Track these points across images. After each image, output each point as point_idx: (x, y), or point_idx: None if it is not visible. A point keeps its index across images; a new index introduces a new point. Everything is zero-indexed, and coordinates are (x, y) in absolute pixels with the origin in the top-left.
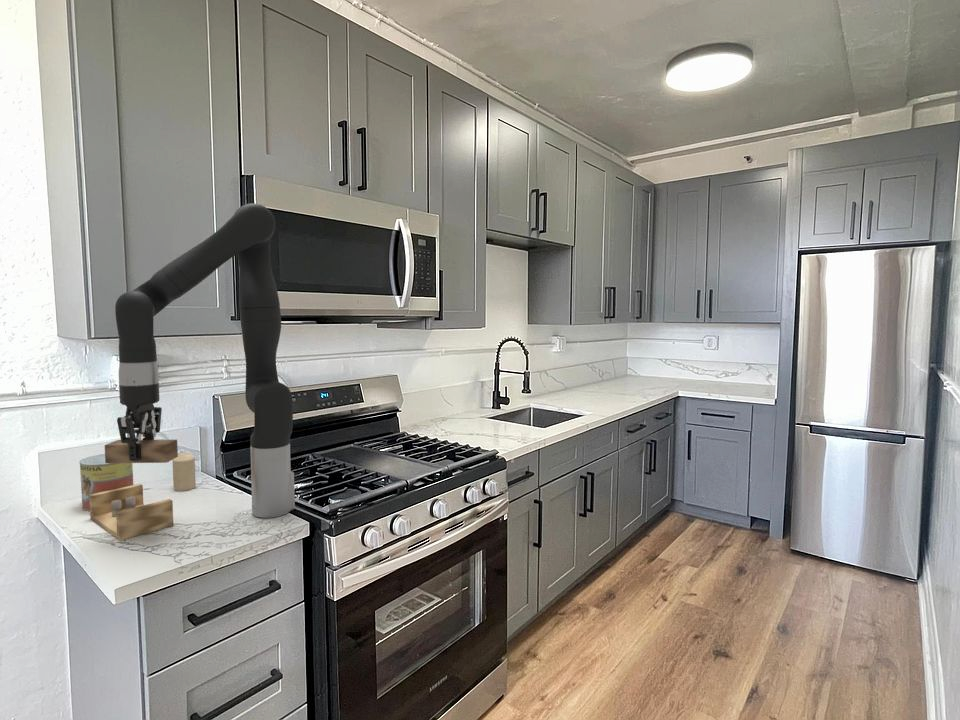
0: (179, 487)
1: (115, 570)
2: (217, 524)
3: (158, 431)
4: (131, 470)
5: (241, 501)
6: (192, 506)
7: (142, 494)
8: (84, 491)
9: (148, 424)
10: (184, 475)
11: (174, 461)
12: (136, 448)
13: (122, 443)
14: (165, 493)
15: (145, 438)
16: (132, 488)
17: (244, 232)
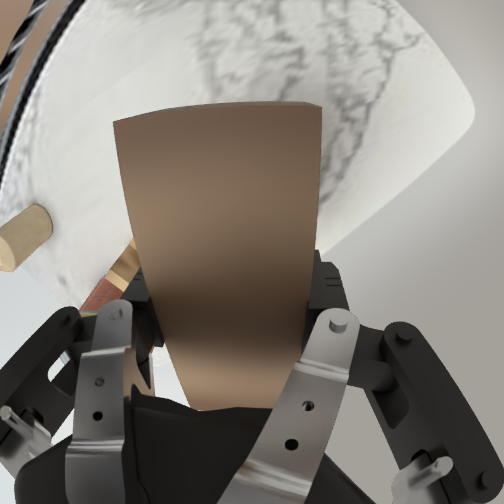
0: (47, 225)
1: (438, 139)
2: (215, 23)
3: (69, 313)
4: (82, 316)
5: (76, 57)
6: (108, 144)
7: (120, 257)
8: (153, 348)
9: (150, 406)
10: (28, 228)
11: (16, 263)
12: (337, 299)
13: (258, 385)
14: (66, 241)
15: (157, 335)
16: (128, 280)
17: None
